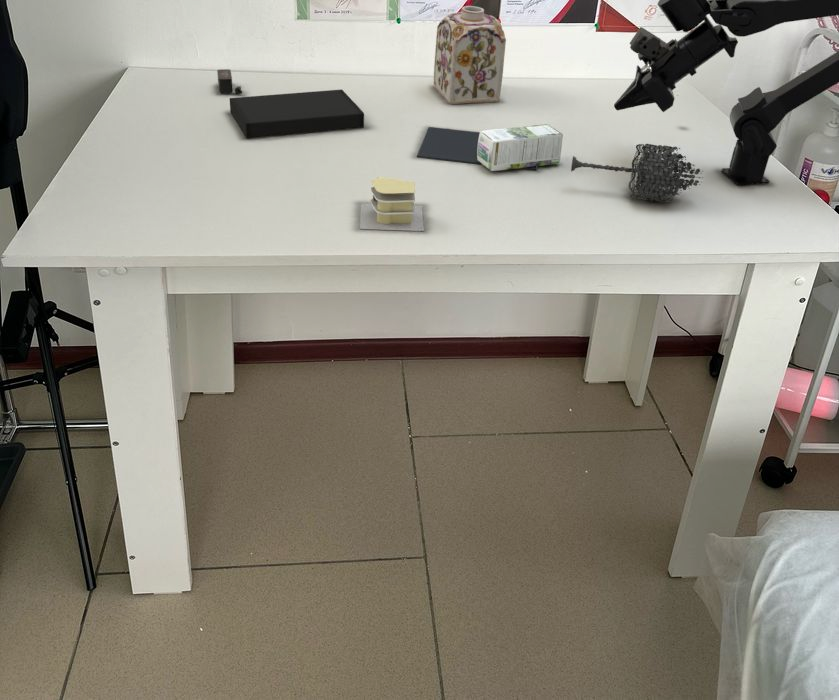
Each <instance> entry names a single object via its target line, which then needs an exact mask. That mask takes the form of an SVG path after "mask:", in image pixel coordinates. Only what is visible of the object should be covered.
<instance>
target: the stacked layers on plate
mask: <svg viewBox="0 0 839 700" xmlns="http://www.w3.org/2000/svg"><path fill="white" fill-rule="evenodd" d="M370 182H371V184H372V187H371V188H370V192H371V194H372V198H371V199H370V203H360V220H359V229H360V230H382V231H383V230H384V231H412V232H424V231H425V230H424V217H423V216H424V215H423V206H422V205H415V204H414V203H415V201H416V196H415V194H416V183H415V181H409V180H404V179H397V178H391V177H379V176H377V177H376V178H374V179H372V180H370Z"/></svg>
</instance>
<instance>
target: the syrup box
mask: <svg viewBox="0 0 839 700" xmlns="http://www.w3.org/2000/svg"><path fill="white" fill-rule="evenodd" d="M479 132H480V134H479V139H478V147H477V160H478V161H479V162H481V163H482V164H483V165H482V164H481V165H482V166H484V167H485V168H487V169H488V170H489V171H490V172H498V171H507V170H513V169H517V168H524V167H533V166H537V167H540V166H550V165H559V164H560V162H561V157H562V156H561V154H562V147H563V137H564V133H562V132H560V131H559V130H557V129H556V128H555V127H553V126H551V125H550V124H548V123H547V124H545V123H544V124H534V125H526V126H514V127H505V128H496V129H495V128H494V129H485V130H480V131H479Z"/></svg>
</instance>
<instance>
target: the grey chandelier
mask: <svg viewBox="0 0 839 700" xmlns="http://www.w3.org/2000/svg"><path fill="white" fill-rule="evenodd" d="M635 149H636V151H635V153H634V156H633V159H632V161H631V167H624V166H620V167H619V166H613V165H610V164H606V165H602V164H596V163H588V162H582V161H580V160H578V159H577V157H575V156H574V155H573V156H572V161H571V167H570V172H573V171H575V170H576V169H579V168H591V169H594V170H595V169H599V170H600V169H601V170H607V171H615V172H619V171H620V172H625V173H630V178H631V179H630V180H629V183H628V189H629V191H630V195H628V197H629V198H634V199H638V200H645V201H646V200H647V201H649V200H650V201H652V202H653V201H655V202H662V203H663V202H666V203H667V202H670V201H671V202H673V200H674V197H676V196H680V194H681V193H682V190H683V191H687V189H688V190H690V189H691V188H690V187H692V185H693V186H694V187H697V186H698V185H699V186H701V183H703V181H699V180H698V179H696V180H695V178H696V175H699V174H700V175H702V173H704V170H701V169H700V168H699V167H698V168H696V167H695V164H692V162H690V161H687V156H686V155H682V154H681V153H679V152H678V151H679V150H681V147H678V146H671V145H665V144H664V145H662V144H659V145H656V144H651V143H645V144H643V143H638V144H636V145H635ZM692 166H693V167H692ZM687 178H688V179H687ZM697 178H699V179H704V177H703V176H702V177H701V176H697ZM680 191H681V192H680ZM672 197H673V198H672Z"/></svg>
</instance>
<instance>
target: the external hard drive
mask: <svg viewBox="0 0 839 700" xmlns="http://www.w3.org/2000/svg"><path fill="white" fill-rule="evenodd" d="M229 112H230V114H231V116H232V118H233V120H234V121H235V122H236V125H237V126H238V127H239V129H240V130H241V132H242V134H243V136H244V137H245V139H257V138H267V137H276V136H277V137H279V136H289V135H301V134H310V133H321V132H331V131H332V132H333V131H342V130H352V129H363V128H365V112H364V111H363V110H362V109H361V108H360V107H359V106H358V105H357V104H356V103H355V101H354V100H352V98H351V97H350V96H349V95H348V94H347V93H346V92H345V91H344V89H330V90H317V91H304V92H292V93H278V94H277V93H276V94H265V95H251V96H250V95H249V96H239V97H229Z"/></svg>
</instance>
